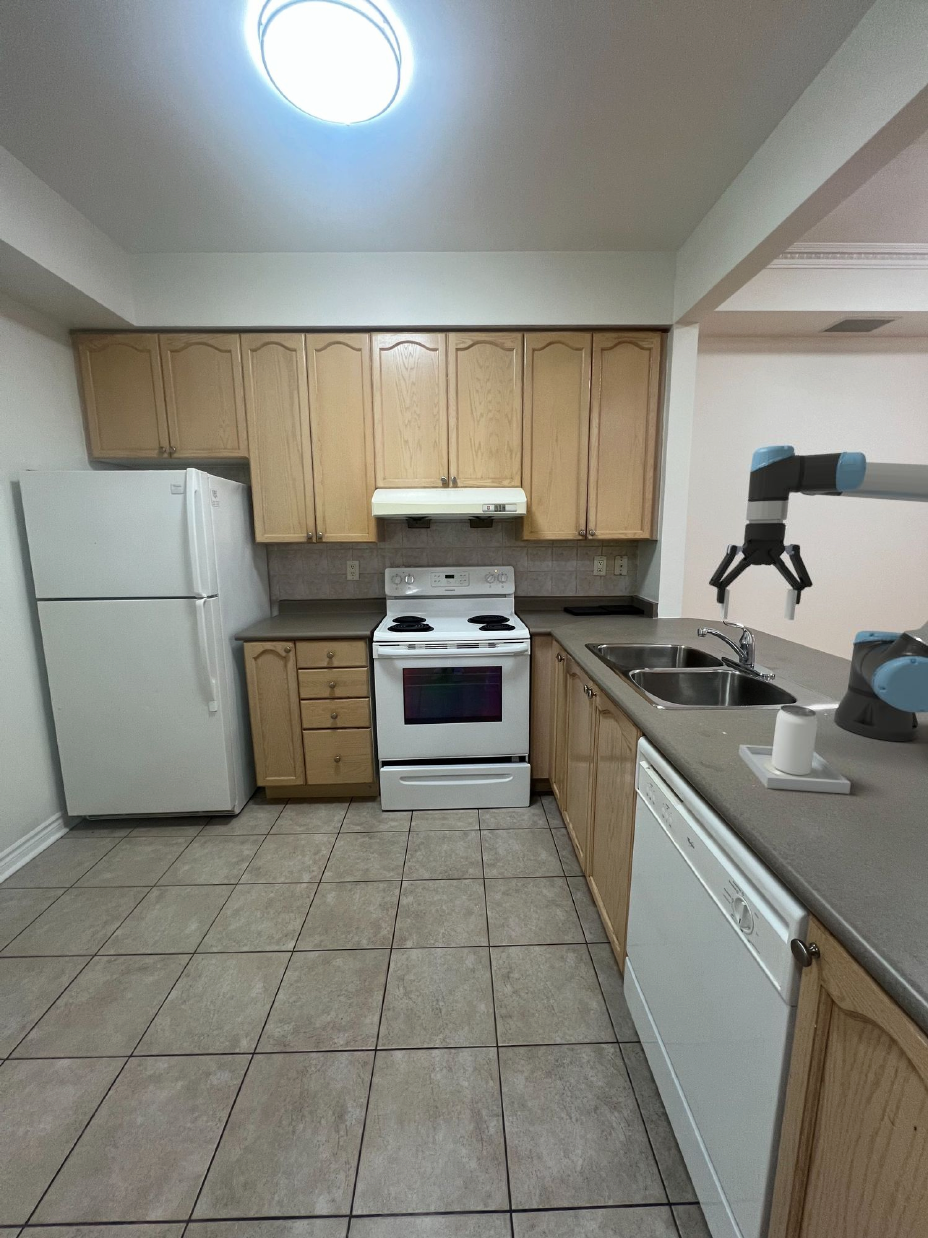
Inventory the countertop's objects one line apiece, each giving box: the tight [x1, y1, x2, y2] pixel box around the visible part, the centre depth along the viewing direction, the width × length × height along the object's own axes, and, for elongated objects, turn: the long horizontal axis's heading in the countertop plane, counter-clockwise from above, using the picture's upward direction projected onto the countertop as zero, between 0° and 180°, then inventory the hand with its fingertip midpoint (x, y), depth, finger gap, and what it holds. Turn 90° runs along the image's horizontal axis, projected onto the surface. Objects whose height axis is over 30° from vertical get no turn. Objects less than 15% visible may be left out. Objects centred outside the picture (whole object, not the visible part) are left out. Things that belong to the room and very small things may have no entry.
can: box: [772, 704, 818, 776], centre depth 94 cm, size 6×6×12 cm
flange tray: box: [738, 744, 852, 795], centre depth 95 cm, size 14×14×2 cm
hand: (755, 618), depth 109 cm, fingers open, 13 cm apart
